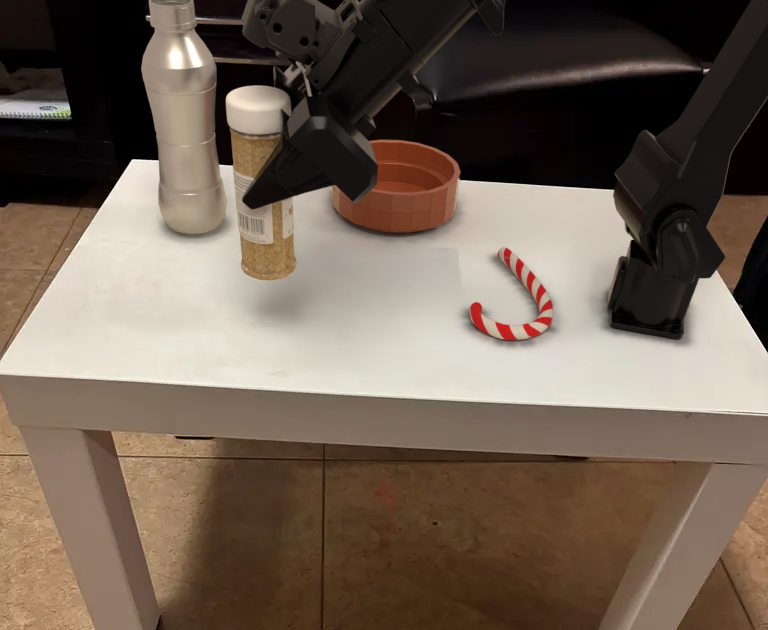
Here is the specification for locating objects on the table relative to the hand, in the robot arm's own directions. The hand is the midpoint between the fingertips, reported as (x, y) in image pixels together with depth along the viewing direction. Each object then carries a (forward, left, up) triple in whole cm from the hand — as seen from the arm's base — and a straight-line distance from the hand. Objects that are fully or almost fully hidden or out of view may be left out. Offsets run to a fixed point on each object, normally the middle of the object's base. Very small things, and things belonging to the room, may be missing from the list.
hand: (245, 190), depth 62 cm
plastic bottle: (+12, -15, -12) cm, 23 cm away
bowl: (-6, -26, -12) cm, 30 cm away
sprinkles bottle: (-1, -1, -7) cm, 7 cm away
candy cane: (-20, -12, -12) cm, 27 cm away
